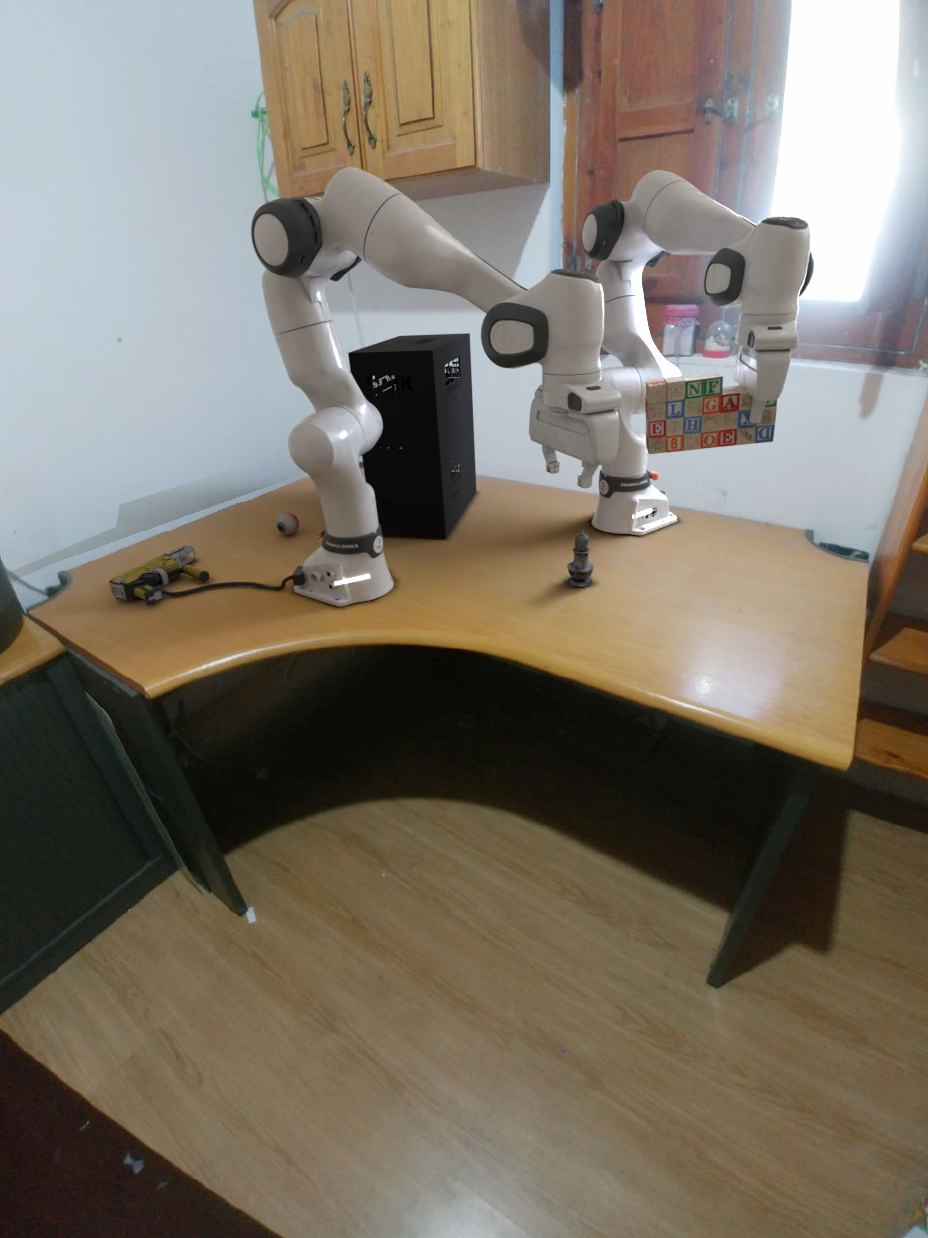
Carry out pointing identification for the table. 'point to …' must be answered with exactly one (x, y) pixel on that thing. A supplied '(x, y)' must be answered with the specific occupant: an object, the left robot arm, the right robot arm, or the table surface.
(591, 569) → the grey chess piece
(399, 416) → the black computer case
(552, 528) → the table surface
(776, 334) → the right robot arm
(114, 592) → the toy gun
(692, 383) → the stack of blocks
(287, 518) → the eyeball
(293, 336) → the left robot arm
